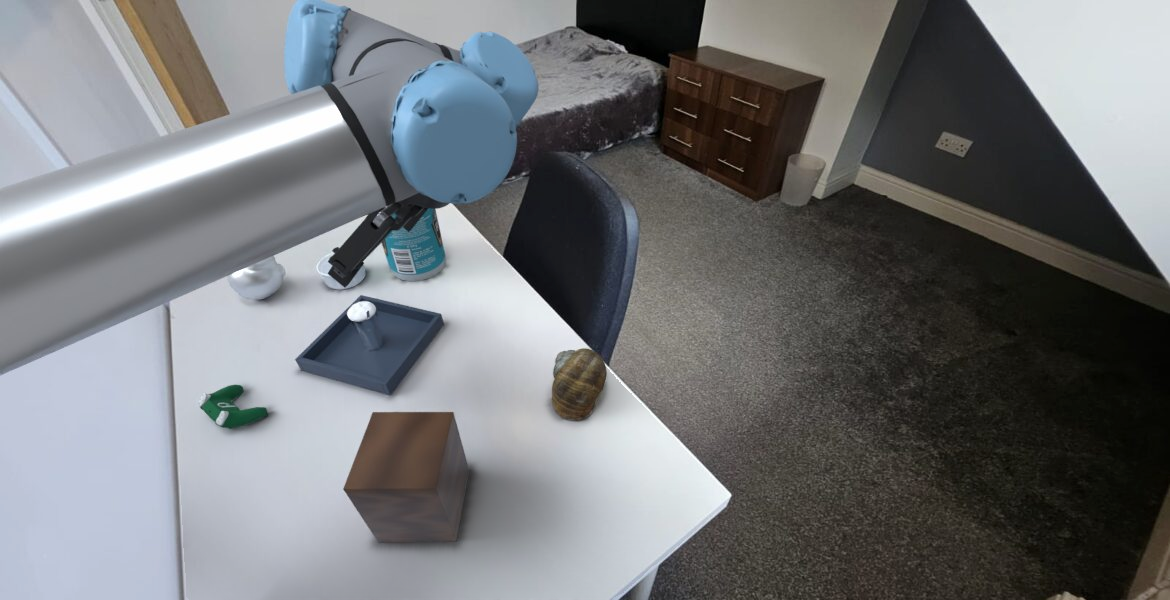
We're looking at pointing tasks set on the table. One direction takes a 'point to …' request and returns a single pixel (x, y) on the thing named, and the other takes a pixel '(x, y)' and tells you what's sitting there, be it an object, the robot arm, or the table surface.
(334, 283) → the ramekin
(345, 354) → the tray
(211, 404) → the gaming controller
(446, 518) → the block
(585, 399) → the seashell
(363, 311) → the milkshake
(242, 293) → the silver rounded lump
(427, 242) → the food can
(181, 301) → the table surface
